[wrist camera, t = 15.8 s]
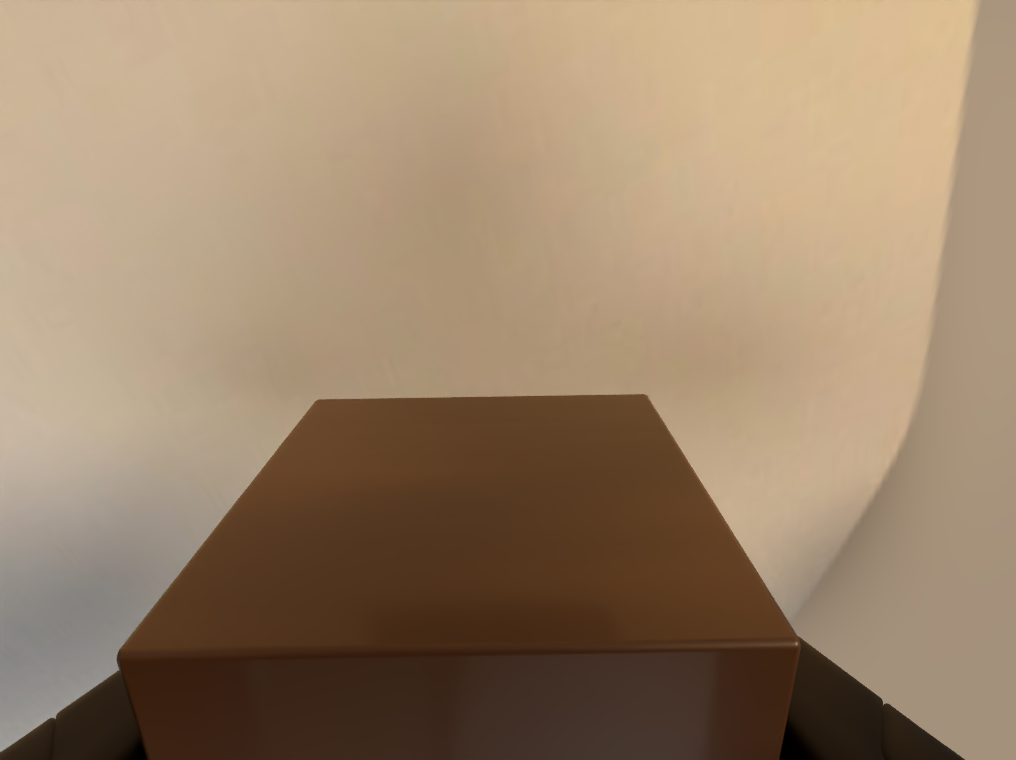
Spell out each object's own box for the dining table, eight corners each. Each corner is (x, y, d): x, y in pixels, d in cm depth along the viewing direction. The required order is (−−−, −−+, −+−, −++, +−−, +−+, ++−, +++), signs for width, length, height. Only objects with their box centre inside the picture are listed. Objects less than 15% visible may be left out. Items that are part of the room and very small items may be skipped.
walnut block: (647, 392, 9) (805, 643, 4) (628, 652, 11) (727, 1036, 6) (316, 397, 9) (110, 656, 4) (350, 657, 11) (231, 1044, 6)
